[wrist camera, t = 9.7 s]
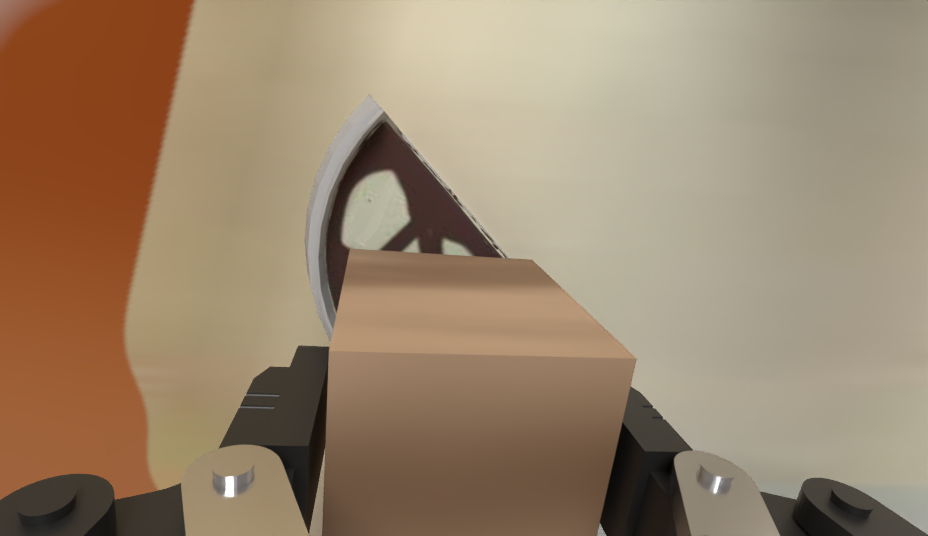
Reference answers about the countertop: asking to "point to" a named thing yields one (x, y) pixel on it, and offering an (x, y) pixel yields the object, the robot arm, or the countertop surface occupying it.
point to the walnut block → (467, 401)
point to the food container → (380, 206)
